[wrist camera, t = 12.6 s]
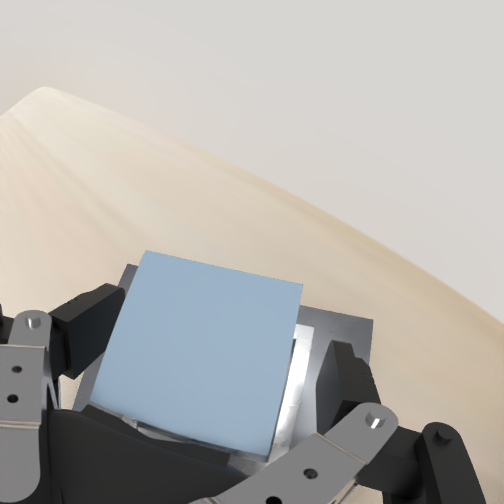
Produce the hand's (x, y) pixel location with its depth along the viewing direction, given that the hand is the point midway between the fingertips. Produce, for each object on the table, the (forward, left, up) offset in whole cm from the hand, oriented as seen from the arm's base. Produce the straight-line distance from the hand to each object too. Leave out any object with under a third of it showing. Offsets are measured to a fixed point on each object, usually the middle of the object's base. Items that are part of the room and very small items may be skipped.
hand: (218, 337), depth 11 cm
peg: (0, +1, -6) cm, 6 cm away
